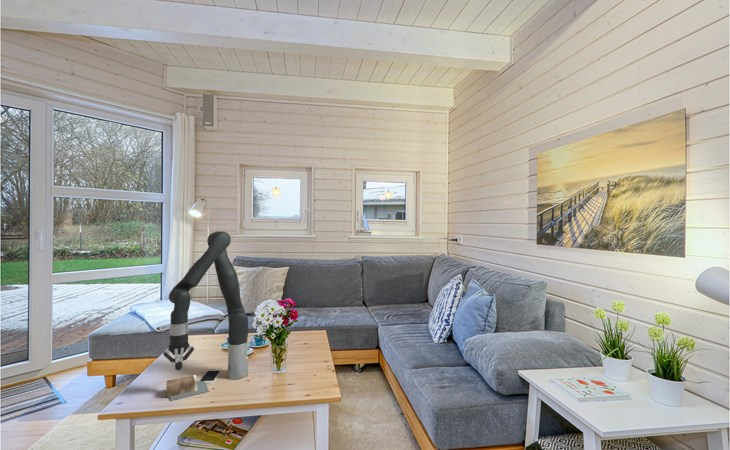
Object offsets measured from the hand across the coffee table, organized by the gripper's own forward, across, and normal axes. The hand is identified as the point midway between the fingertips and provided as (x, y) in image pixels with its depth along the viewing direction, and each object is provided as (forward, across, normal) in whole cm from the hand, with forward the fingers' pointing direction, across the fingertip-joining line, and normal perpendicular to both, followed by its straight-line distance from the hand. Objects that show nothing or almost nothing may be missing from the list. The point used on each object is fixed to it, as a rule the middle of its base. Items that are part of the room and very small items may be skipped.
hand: (178, 369), depth 154 cm
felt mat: (+10, -4, 0) cm, 11 cm away
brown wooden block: (+8, +5, 0) cm, 9 cm away
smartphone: (+11, -15, -10) cm, 21 cm away
